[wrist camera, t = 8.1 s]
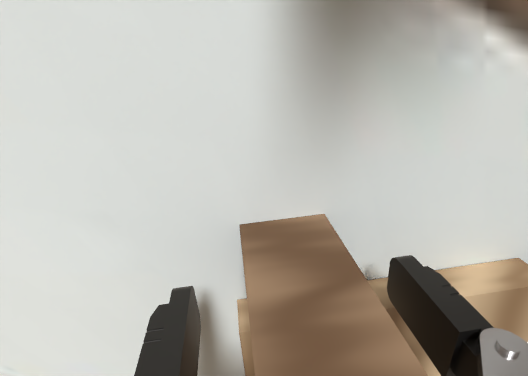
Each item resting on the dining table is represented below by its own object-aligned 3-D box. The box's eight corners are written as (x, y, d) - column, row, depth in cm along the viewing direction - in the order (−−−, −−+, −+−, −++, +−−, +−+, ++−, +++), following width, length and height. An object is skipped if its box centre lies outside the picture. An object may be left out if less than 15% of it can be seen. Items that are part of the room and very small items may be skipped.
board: (518, 257, 17) (555, 283, 15) (479, 361, 20) (505, 392, 19) (237, 299, 15) (239, 333, 13) (251, 403, 19) (255, 440, 17)
